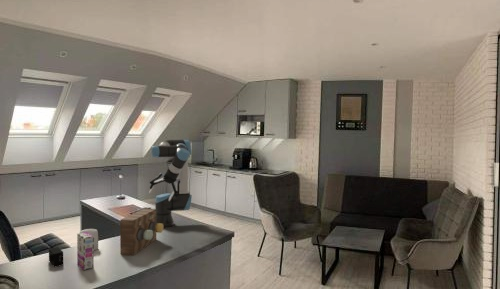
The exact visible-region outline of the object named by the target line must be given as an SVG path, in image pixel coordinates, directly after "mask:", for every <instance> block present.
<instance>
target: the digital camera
mask: <svg viewBox="0 0 500 289" xmlns="http://www.w3.org/2000/svg"><path fill="white" fill-rule="evenodd" d="M49 261H50V262H51V263H50V262H49ZM48 262H49V263H50V264H51V266H52V267H54V268H56V267H55V266H57V267H60V266H59V265H61V266H63V265H64V251H63V250H62V249H60V248H59V246H57V247H56V246H55V247H51V248H49V249H48ZM62 264H63V265H62Z"/></svg>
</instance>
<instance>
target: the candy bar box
mask: <svg viewBox="0 0 500 289" xmlns="http://www.w3.org/2000/svg"><path fill="white" fill-rule="evenodd" d="M76 235H77V237H76V238H77V240H76V241H77V245H76V248H77V249H76V251H77V252H76V254H77V260H76V261H77V264H76V265H78V266H79V267H80V268H81V269H82V270H83V271H87V270H91V269H94V268H95V267H94V251H95V250H94V236H92V235H90V234H89V233H87V232H84V233H80V232H79V233H76Z"/></svg>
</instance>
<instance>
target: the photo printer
mask: <svg viewBox="0 0 500 289" xmlns="http://www.w3.org/2000/svg"><path fill="white" fill-rule="evenodd" d="M84 232H87V233H89V234H90V235H92V236H94V251H95V250H96V251H97V250H99V232H98V229H95V228H85V229H83V230H80V231H79V233H84Z"/></svg>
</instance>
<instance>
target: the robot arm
mask: <svg viewBox="0 0 500 289" xmlns="http://www.w3.org/2000/svg"><path fill="white" fill-rule="evenodd" d="M191 147H192V146H191V142H190V140H188V139H166V140H162V141H160V142H159V143H158V144H157V145H152V146H151V157H152V158H173V159H172V161H171V163H170V165H169V167H168V168H167V169H166V172H165V173H163V171H160V172H159V174H157V175H156V176H154V177H153V178H151V179H150V180H149V184H150V186H149V189H150V190H149V191H148V194H149V195H150V194H152V191H153V190H154V187H155V185H157V184H160V183H167V184H170V185H171V186H172V190H173V191H172V192H171V193H170V192H169V193H168V192H166V193H161V194H159V195H158V194H157V195H156V196H155V202H154V203H155V205H154V206H155V208H154V209H156V224H157V223H162V224H163V226H164V228H169V227H173V226H174V222H175V220H174V218H173V216H172V212H174V211H175V212H178V211H183V212H184V211H189V210H191V205H192V194H191V193H190V191H189V186H188V183H189V182H188V180H189V175H188V174H189V172H188V169H189V168H188V166H189V162H188V161H189V158H190V157H191V156H192V148H191ZM161 177H162V178H161ZM175 182H176V184H175ZM164 228H163V229H164Z"/></svg>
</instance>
